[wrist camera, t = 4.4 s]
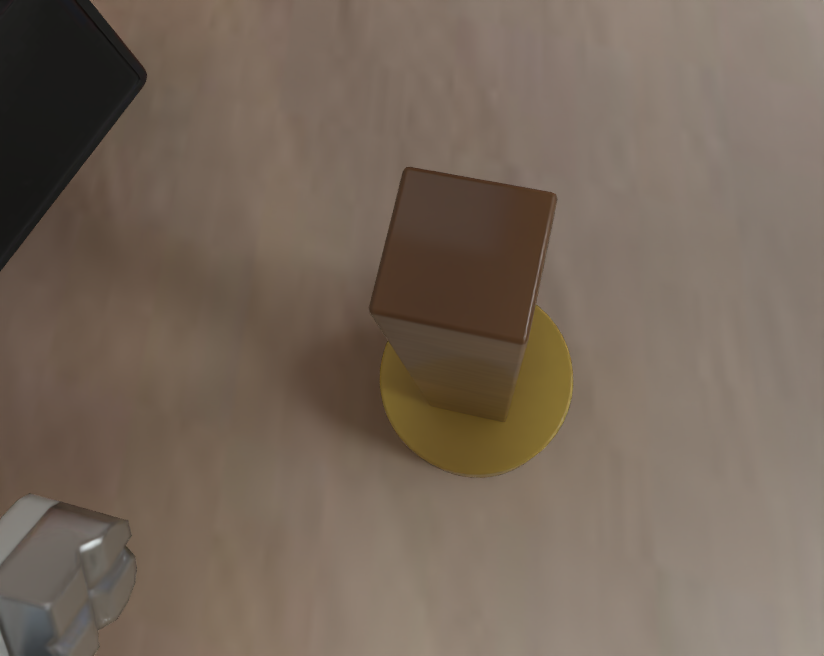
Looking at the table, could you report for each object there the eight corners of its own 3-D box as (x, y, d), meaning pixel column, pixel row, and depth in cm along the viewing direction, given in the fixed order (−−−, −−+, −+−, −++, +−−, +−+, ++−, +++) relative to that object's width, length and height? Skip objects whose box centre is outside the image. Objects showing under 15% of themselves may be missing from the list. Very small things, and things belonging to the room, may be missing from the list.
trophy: (574, 331, 23) (701, 101, 10) (542, 495, 22) (632, 500, 9) (415, 298, 24) (321, 41, 10) (377, 456, 23) (219, 405, 9)
